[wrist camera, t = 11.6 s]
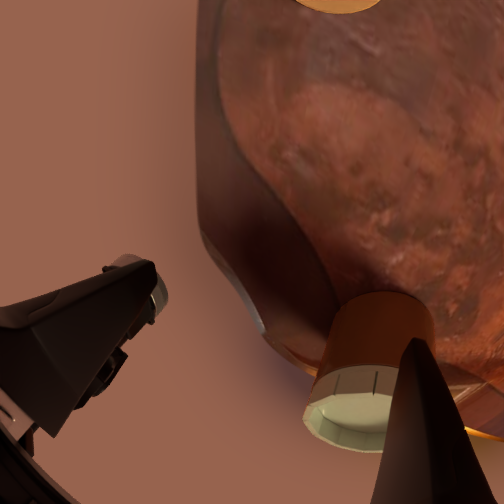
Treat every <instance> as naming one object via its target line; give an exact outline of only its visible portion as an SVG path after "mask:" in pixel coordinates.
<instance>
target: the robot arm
mask: <svg viewBox="0 0 504 504" xmlns="http://www.w3.org/2000/svg"><path fill="white" fill-rule="evenodd" d="M102 271H103V273H102V274H99V275H96V276H94V277H91V278H88V279H86V280H83V281H80V282H77V283H75V284H72V285H69V286H66V287H64V288H61V289H58V290H55V291H53V292H50V293H47V294H44V295H41V296H38V297H35V298H32V299H29V300H25V301H22V302H19V303H15V304H12V305H9V306H5V307H0V504H80V503H79V502H78V501H77V500H76V499H74V498H73V497H72V496H71V495H70V494H69V493H67V492H66V491H65V490H64V489H63V488H62V487H61V486H60V485H59V484H57V483H56V482H55V481H54V480H53V479H52V478H51V477H50V476H49V475H48V474H47V473H46V472H45V471H44V470H43V469H42V468H41V467H40V466H39V465H38V464H37V463H36V462H35V461H34V460H33V459H32V457H33V456H34V444H33V434H34V432H35V431H36V430H37V429H38V428H39V427H41V428H42V429H43V430H45V431H46V432H47V433H48V434H49V435H50V436H51V437H53V438H55V437H56V435H57V434H58V432H59V431H60V429H61V428H62V426H63V424H64V423H65V421H66V419H67V418H68V417H69V415H70V413H71V412H72V411H73V410H76V409H79V408H82V407H83V406H84V405H85V404H86V403H87V401H88V400H89V398H91V396H92V397H95V396H97V395H99V394H100V393H102V392H103V391H104V390H105V389H106V388H107V387H108V386H109V385H110V383H111V382H112V380H113V379H114V377H115V376H116V374H117V373H118V371H119V369H120V368H121V366H122V365H123V363H124V362H125V360H126V359H127V357H128V355H127V354H126V353H125V352H123V351H122V350H121V348H120V347H121V346H122V345H123V344H124V343H125V342H126V341H127V339H129V340H131V339H132V338H133V337H134V336H135V335H136V334H137V333H138V332H139V331H140V330H141V328H142V327H143V326H144V325H145V324H146V323H148V324H150V325H153V324H154V323H155V320H154V317H153V313H152V309H151V305H150V301H149V297H150V295H151V294H152V292H153V290H154V289H155V287H156V285H157V282H158V279H157V274H156V269H155V264H154V263H153V262H152V261H149V260H146V259H142V260H139V261H136V262H133V263H130V264H128V265H125V266H122V267H119V268H116V269H113V268H110V267H108V266H104V267H103V268H102ZM464 429H465V427H464V424H463V421H462V419H461V416H460V414H459V412H458V409H457V407H456V404H455V402H454V400H453V397H452V395H451V393H450V391H449V388H448V386H447V384H446V382H445V379H444V377H443V375H442V373H441V371H440V369H439V367H438V364H437V362H436V360H435V358H434V356H433V354H432V352H431V350H430V348H429V346H428V344H427V342H426V341H425V340H424V339H421V338H417V337H413V338H412V339H411V340H410V342H409V344H408V346H407V347H406V349H405V351H404V352H403V354H402V357H401V360H400V365H399V370H398V375H397V379H396V384H395V388H394V392H393V396H392V401H391V406H390V413H389V419H388V426H387V432H386V437H385V443H384V448H383V453H382V458H381V462H380V467H379V471H378V476H377V480H376V484H375V488H374V492H373V496H372V499H371V503H370V504H498V503H497V502H496V500H495V498H494V496H493V494H492V491H491V489H490V487H489V484H488V482H487V480H486V477H485V475H484V473H483V471H482V468H481V466H480V464H479V462H478V459H477V457H476V455H475V452H474V450H473V447H472V445H471V442H470V440H469V437H468V434H467V432H466V430H464Z"/></svg>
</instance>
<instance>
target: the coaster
mask: <svg viewBox="0 0 504 504" xmlns="http://www.w3.org/2000/svg"><path fill="white" fill-rule="evenodd" d="M296 1H297V2H299V3H300V4H302V5H304V6H306V7H308V8H311V9H314V10H316V11H320V12H325V13H332V14H348V13H354V12H358V11H362V10H365V9H367V8H370V7H371V6H373V5H375V4H376V3H378V2H379V1H380V0H296Z"/></svg>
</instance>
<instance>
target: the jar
mask: <svg viewBox="0 0 504 504" xmlns="http://www.w3.org/2000/svg"><path fill="white" fill-rule="evenodd" d="M413 337H417V338H421V339H424V340H425V341H426V342H427V344H428V346H429V348H430V350H431V352H432V354H433V356H434V358H435V360H436V349H435V329H434V322H433V318H432V316H431V314H430V312H429V311H428V309H427V308H426V307H425V306H424V305H423V304H422V303H420V302H419V301H418V300H416V299H414V298H412V297H410V296H408V295H405V294H402V293H397V292H391V291H377V292H370V293H366V294H363V295H360V296H357V297H355V298H353V299H351V300H350V301H348V302H347V303H346V304H344V305H343V306H342V307H341V308H340V309H339V311H338V312H337V314H336V315H335V318H334V320H333V323H332V327H331V330H330V333H329V337H328V340H327V343H326V346H325V350H324V353H323V356H322V359H321V362H320V365H319V368H318V371H317V374H316V377H315V380H314V383H313V386H312V390H311V396H310V398H309V401H308V404H307V406H306V409H305V412H304V414H303V417H302V419H303V422H304V423H305V425H306V426H307V428H308V429H309V431H310V432H311V433H312V434H313V435H314V436H316V437H318V438H320V439H322V440H323V441H325V442H327V443H329V444H331V445H333V446H336V447H339V448H344V449H348V450H353V451H358V452H362V451H363V453H365V452H366V453H367V452H369V453H372V452H373V453H374V452H375V453H376V452H383V448H384V443H385V437H386V432H387V426H388V419H389V413H390V406H391V401H392V396H393V392H394V388H395V384H396V379H397V375H398V370H399V365H400V360H401V357H402V354H403V352H404V351H405V349H406V347H407V346H408V344H409V342H410V340H411V339H412V338H413Z"/></svg>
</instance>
